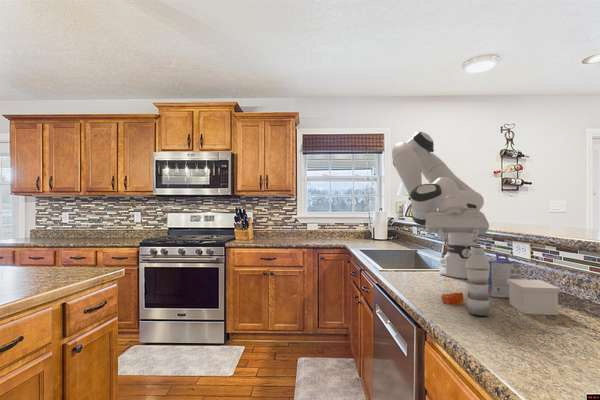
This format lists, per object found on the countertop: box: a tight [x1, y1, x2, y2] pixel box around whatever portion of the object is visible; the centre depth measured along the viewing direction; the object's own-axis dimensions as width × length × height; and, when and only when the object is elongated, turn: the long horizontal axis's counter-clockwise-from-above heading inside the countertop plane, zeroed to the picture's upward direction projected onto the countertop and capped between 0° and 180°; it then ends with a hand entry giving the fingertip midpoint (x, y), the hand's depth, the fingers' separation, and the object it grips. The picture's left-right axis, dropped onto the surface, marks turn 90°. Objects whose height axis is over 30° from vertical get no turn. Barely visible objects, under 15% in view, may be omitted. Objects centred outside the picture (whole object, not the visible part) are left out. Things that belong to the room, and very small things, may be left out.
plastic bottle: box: [465, 245, 492, 317], centre depth 93 cm, size 6×7×20 cm
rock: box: [440, 292, 465, 306], centre depth 105 cm, size 12×12×4 cm
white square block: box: [507, 279, 562, 316], centre depth 97 cm, size 10×10×8 cm
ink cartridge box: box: [488, 253, 523, 299], centre depth 111 cm, size 10×6×14 cm, turn 78°
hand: (460, 241), depth 106 cm, fingers open, 8 cm apart
